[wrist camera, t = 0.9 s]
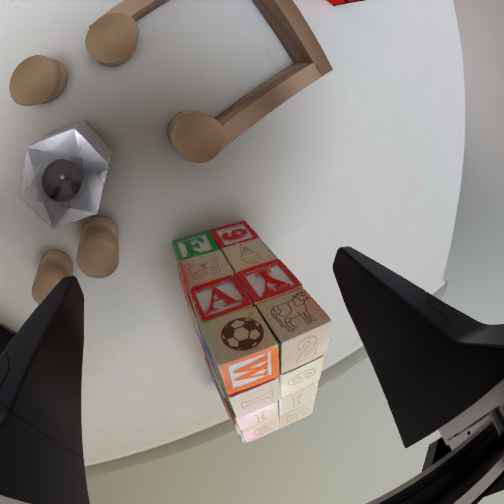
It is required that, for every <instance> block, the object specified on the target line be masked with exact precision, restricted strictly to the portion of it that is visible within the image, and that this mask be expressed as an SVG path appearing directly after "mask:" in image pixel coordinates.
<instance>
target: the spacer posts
mask: <svg viewBox="0 0 504 504" xmlns="http://www.w3.org/2000/svg"><path fill="white" fill-rule="evenodd" d="M137 39H138V26H137V23H136V22H135V20H134V19H133V18H132V17H130V16H129V15H126V14H123V13H112V14H108V15H105V16H103V17H101V18H100V19H98V20H97V21H96V22H94V24H93V25H92V26H91V27H90V29H89V31H88V33H87V36H86V47H87V50H88V52H89V53H90V54H91V55H92V56H93V57H94V58H95V59H96V60H97V61H98V62H99V63H100V64H102V65H105V66H117V65H120V64H122V63H124V62H125V61H127V60H128V59H129V58H130V57H131V56H132V55H133V53H134V51H135V48H136V44H137ZM66 83H67V71H66V69H65V67H64V66H63V65H62V64H61V63H59V62H57V61H55V60H52V59H50V58H47V57H44V56H41V55H36V56H31V57H29V58H27V59H25V60H24V61H22V62H21V63H20V64H19V65H18V66H17V68H16V69H15V71H14V72H13V74H12V77H11V80H10V94H11V97H12V98H13V100H14V101H15V102H16V103H17V104H19V105H22V106H31V105H36V104H41V103H46V102H50V101H52V100H54V99H56V98H57V97H58V96H59V95H60V94H61V93H62V92H63V90H64V88H65V86H66ZM168 138H169V141H170V142H171V144H172V145H173V146H174V147H175V149H176V150H177V151H178V152H179V153H180V154H181V156H182V157H183V158H185V159H186V160H188V161H191V162H194V163H202V162H206V161H209V160H211V159H212V158H214V157H215V156H216V155H217V154H218V153H219V152H220V150H221V149H222V146H223V144H224V131H223V128H222V126H221V124H220V123H219V122H218V121H217V120H216V119H214V118H213V117H210V116H207V115H204V114H201V113H198V112H195V111H184V112H181V113H179V114H177V115H176V116H175V117H174V118H173V119H172V120H171V122H170V124H169V126H168ZM118 263H119V250H118V229H117V226H116V225H115V223H114V222H113V221H112V220H111V219H109V218H107V217H103V216H97V217H93V218H91V219H89V220H88V221H87V222H86V223H85V225H84V227H83V229H82V234H81V238H80V243H79V248H78V253H77V264H78V266H79V268H80V270H81V271H82V272H83V273H84V274H86V275H87V276H89V277H92V278H104V277H107V276H109V275H111V274H112V273H113V272H114V271H115V270H116V268H117V266H118ZM72 272H73V263H72V261H71V259H70V258H69V256H68V255H67V254H65V253H64V252H61V251H58V250H52V251H49V252H47V253H45V254H44V256H43V257H42V259H41V262H40V265H39V268H38V271H37V274H36V277H35V280H34V284H33V287H32V295H33V298H34V300H35V301H36V302H37V303H38V304H39V305H40V303H41V302H42V301H43V300H44V299H45V297H46V296H47V295H48V294H49V293H50V292H51V290H52V289H53V288H54V287H55V286H56V285H57V284H58V282H59V281H60V280H61V279H62V278H63V277H65V276H72Z"/></svg>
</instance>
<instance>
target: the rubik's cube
mask: <svg viewBox="0 0 504 504" xmlns="http://www.w3.org/2000/svg"><path fill="white" fill-rule="evenodd" d="M327 1H328V2H330V3H331V4H332V5H333V6H336V5H341V4H346V3H352V2H358V1H364V0H327Z"/></svg>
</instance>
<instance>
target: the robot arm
mask: <svg viewBox="0 0 504 504" xmlns="http://www.w3.org/2000/svg"><path fill="white" fill-rule="evenodd" d="M333 272H334V275H335V277H336V280H337V283H338V286H339V288H340V291H341V294H342V297H343V300H344V302H345V305H346V307H347V310H348V312H349V314H350V316H351V318H352V320H353V323H354V325H355V327H356V329H357V331H358V334H359V336H360V338H361V340H362V342H363V345H364V347H365V349H366V352H367V354H368V356H369V358H370V361H371V363H372V365H373V368H374V370H375V372H376V375H377V377H378V379H379V382H380V384H381V387H382V389H383V392H384V394H385V396H386V399H387V401H388V405H389V407H390V409H391V412H392V415H393V417H394V420H395V422H396V425H397V428H398V430H399V433H400V436H401V438H402V441H403V444H404V446H405V448H408V447H409V446H411V445H413V444H415V443H416V442H418V441H420V440H422V439H423V438H425V437H426V436H428V435H430V434H431V433H433V432H434V431H436V430H439V432H440V434H441V436H442V437H440V438H439V439H437V440H436V441H434V442H433V443H431V444H430V445H429V448H428V452H427V455H426V459H425V462H424V465H423V469H422V472H421V473H420V474H418V475H417V476H415V477H414V478H412V479H410V480H409V481H407V482H406V483H404V484H402V485H401V486H399V487H397V488H395V489H394V490H392V491H390V492H388V493H386V494H384V495H383V496H381V497H379V498H377V499H375V500H373V501H371V502H369V503H367V504H477V503H478V502H479V501H480V500H481V499H482V498H483V497H485V496H488V495H491V494H493V493H496V492H499V491H501V490H504V324H499V325H487V324H483V323H480V322H478V321H476V320H475V319H473V318H471V317H469V316H467V315H466V314H464V313H462V312H460V311H458V310H456V309H455V308H453V307H451V306H449V305H448V304H446V303H444V302H442V301H441V300H439V299H438V298H436V297H434V296H433V295H431V294H429V293H428V292H425V290H423V289H421V288H420V287H418V286H416V285H415V284H413V283H411V282H410V281H408V280H407V279H405V278H403V277H402V276H400V275H398V274H396V273H395V272H393V271H391V270H390V269H388V268H386V267H385V266H383V265H381V264H379V263H378V262H376V261H374V260H373V259H371V258H369V257H367V256H366V255H364V254H362V253H360V252H359V251H357V250H355V249H353V248H351V247H349V246H347V247H340V248H339V249H338V250H337V253H336V257H335V260H334V263H333ZM83 346H84V295H83V292H82V290H81V287H80V285H79V283H78V280H77V278H76V277H75V276H65V277H63V278H62V279H61V280H60V281H59V282H58V284H57V285H56V286H55V287H54V288H53V289H52V290H51V292H50V293H49V294H48V295H47V296H46V297H45V299H44V300H43V301H42V302H41V303H40V305H39V306H38V307H37V308H36V309H35V311H34V312H33V313H32V314H31V316H30V317H29V318H28V319H27V321H26V322H25V323H24V325H23V326H22V327H21V328H20V330H19V331H18V332H17V334H16V335H15V336H14V335H12V334H10V333H9V332H7V331H6V330H4V329H3V328H1V327H0V504H90V503H89V497H88V491H87V484H86V476H85V467H84V458H83V445H82V425H81V381H82V360H83Z"/></svg>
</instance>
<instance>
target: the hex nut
mask: <svg viewBox="0 0 504 504" xmlns="http://www.w3.org/2000/svg"><path fill="white" fill-rule="evenodd" d="M112 152H113V150H112V149H111V148H110V147H109V146H108V145H107V144H106V143H105V142H104V141H103V140H102V139H101V137H100V136H99V135H98V134H97V133H96V132H95V131H94V130H93V129H92V128H91V127H90V126H89V125H88V124H87V123H86V122H85V121H84V122H81V123H78V124H75V125H72V126H69V127H66V128H64V129H61V130H58V131H56V132H53V133H51V134H48V135H46V136H44V137H42V138H41V139H39V140H38V141H36V142H35V143H33V144H31V145H30V146H28V147H27V151H26V156H25V161H24V167H23V173H22V180H21V188H20V196H19V198H20V199H21V200H22V201H23V202H24V203H25V204H26V205H27V206H28V207H30V208H31V209H32V210H33V211H34V212H35V213H36V214H37V215H39V216H40V217H41V218H42V219H43V220H44V221H45V222H47V223H48V224H49V225H50V226H51V227H52V228H57V227H60V226H63V225H65V224H68V223H71V222H74V221H77V220H80V219H83V218H86V217H89V216H92V215H95V214H97V213H98V208H99V204H100V199H101V195H102V191H103V187H104V183H105V179H106V176H107V172H108V168H109V165H110V160H111V156H112Z"/></svg>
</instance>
